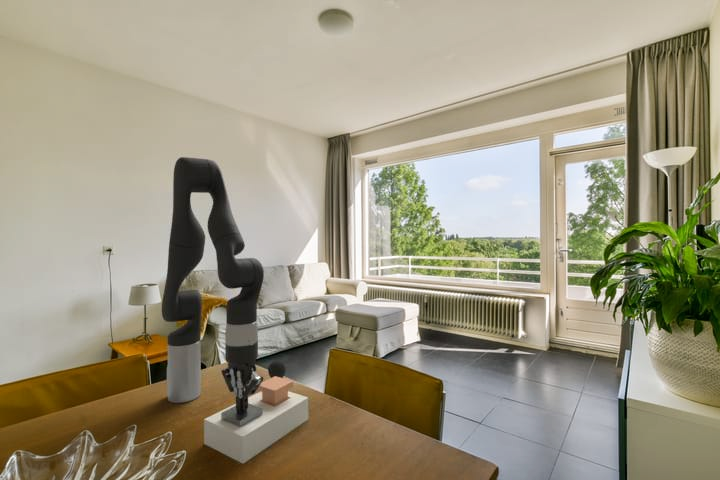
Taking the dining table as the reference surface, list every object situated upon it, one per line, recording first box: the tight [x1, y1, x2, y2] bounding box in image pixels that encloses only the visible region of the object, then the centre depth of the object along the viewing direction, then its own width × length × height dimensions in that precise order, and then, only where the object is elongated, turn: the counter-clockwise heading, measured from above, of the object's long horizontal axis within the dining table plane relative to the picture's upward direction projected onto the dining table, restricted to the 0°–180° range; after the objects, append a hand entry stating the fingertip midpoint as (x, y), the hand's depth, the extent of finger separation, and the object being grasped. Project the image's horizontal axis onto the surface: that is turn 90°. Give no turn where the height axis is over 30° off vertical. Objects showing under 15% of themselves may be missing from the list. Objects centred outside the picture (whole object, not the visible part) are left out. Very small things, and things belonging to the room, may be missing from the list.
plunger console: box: [203, 390, 309, 464], centre depth 89 cm, size 14×22×6 cm, turn 148°
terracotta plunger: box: [256, 376, 294, 406], centre depth 94 cm, size 7×7×6 cm
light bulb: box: [267, 359, 287, 379], centre depth 112 cm, size 6×6×10 cm
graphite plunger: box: [221, 403, 263, 427], centre depth 85 cm, size 7×7×6 cm
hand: (242, 410), depth 84 cm, fingers closed
